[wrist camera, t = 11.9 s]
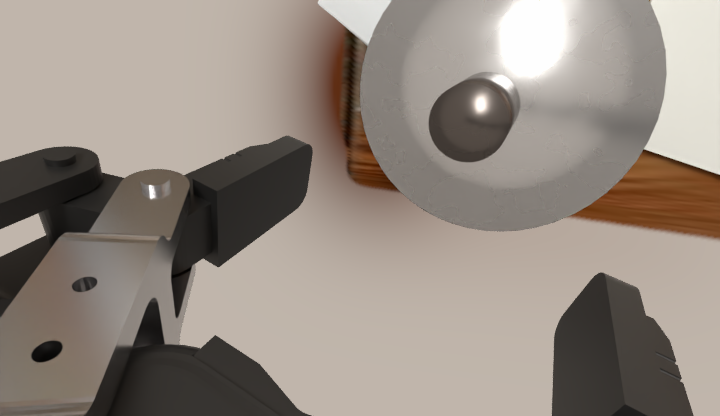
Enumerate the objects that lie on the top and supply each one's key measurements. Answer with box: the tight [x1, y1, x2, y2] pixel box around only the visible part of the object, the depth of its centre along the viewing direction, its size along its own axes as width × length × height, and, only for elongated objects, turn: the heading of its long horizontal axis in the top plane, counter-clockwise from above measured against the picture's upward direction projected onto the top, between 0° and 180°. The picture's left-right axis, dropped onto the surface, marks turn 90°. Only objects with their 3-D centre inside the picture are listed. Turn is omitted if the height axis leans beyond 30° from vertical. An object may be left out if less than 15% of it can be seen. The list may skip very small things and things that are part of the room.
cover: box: [360, 0, 667, 231], centre depth 28 cm, size 17×17×24 cm
